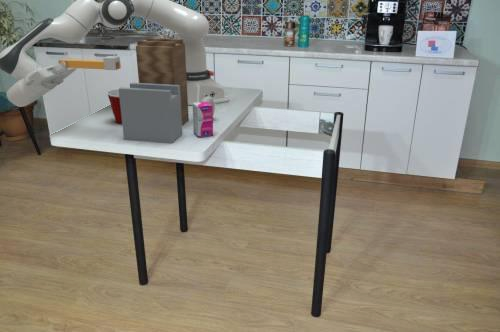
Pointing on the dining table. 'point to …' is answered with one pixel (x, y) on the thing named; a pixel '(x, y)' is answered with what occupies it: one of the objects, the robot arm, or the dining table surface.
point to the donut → (210, 100)
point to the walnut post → (164, 66)
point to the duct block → (151, 112)
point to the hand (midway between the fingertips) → (69, 62)
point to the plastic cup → (115, 104)
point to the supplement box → (202, 119)
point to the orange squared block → (94, 63)
